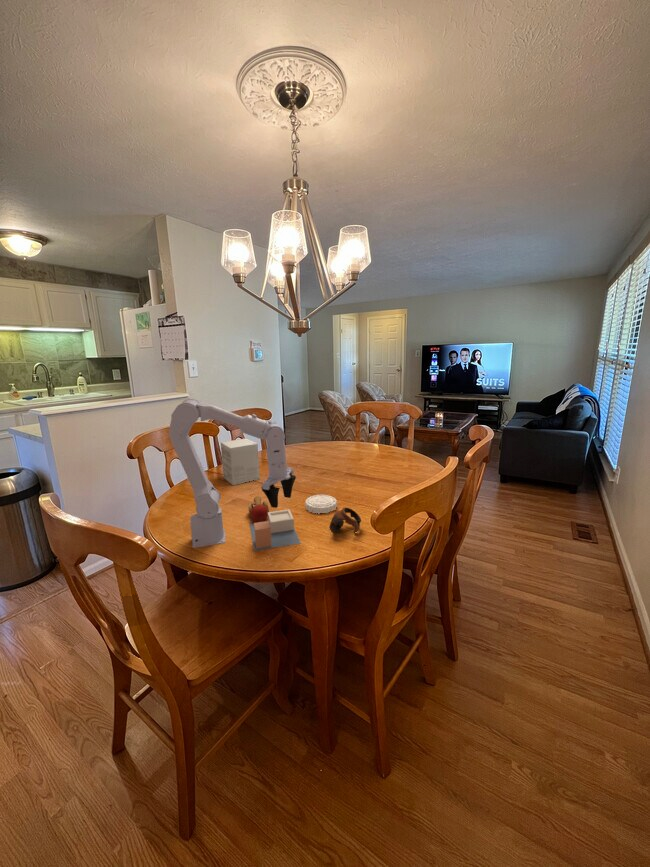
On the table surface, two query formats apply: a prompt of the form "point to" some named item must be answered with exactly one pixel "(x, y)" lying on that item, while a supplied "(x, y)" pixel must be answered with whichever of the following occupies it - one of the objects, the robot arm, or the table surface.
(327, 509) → the mooncake
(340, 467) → the table surface
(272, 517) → the base block
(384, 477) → the table surface
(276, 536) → the mat
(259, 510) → the kendama
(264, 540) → the terracotta block
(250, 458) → the supplement box
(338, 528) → the brown looped piece
